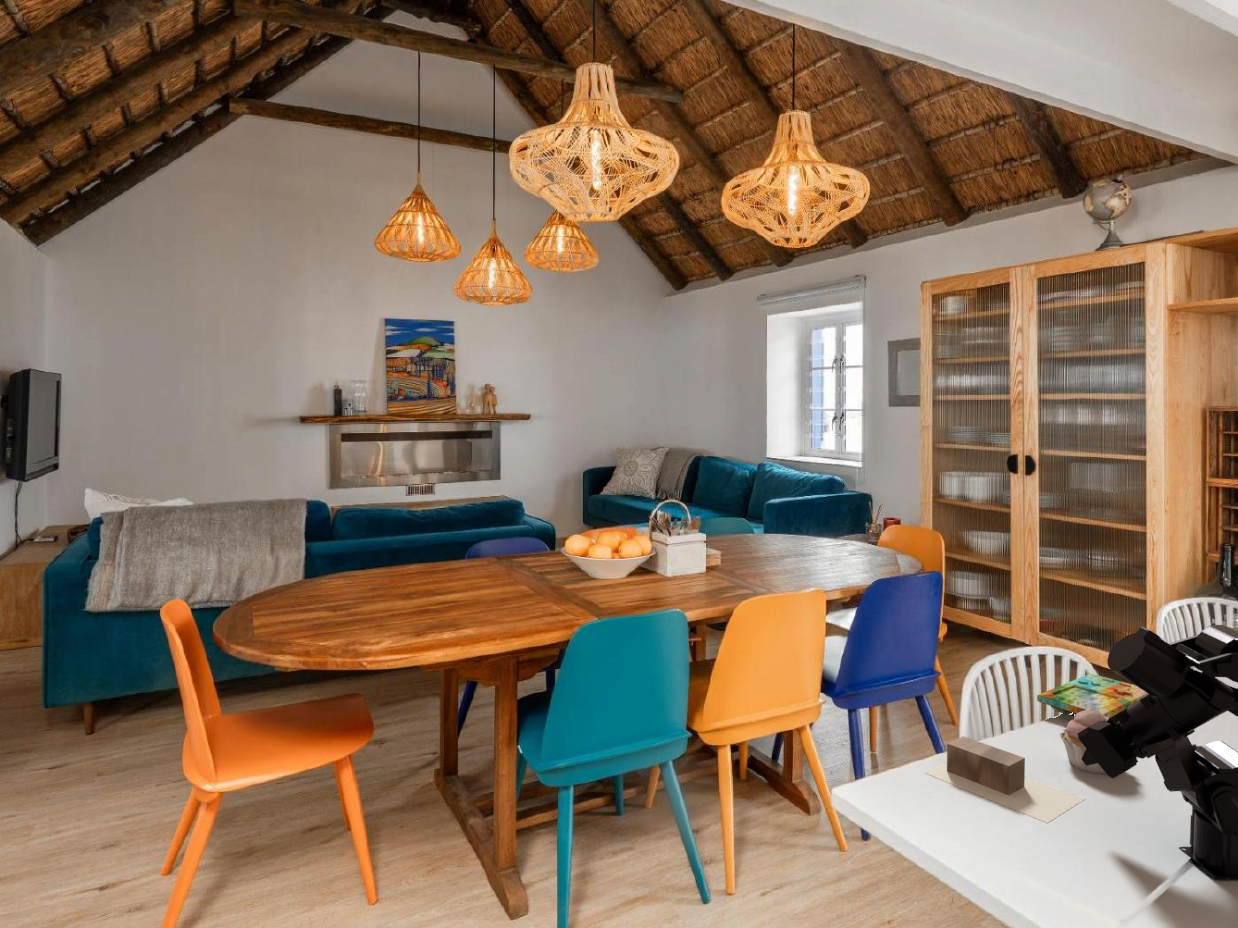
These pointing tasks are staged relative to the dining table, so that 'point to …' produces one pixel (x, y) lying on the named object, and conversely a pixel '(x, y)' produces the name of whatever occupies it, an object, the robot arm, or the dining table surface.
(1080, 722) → the cupcake
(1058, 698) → the puzzle game
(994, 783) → the walnut block
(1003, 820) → the dining table surface
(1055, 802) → the beige mat
